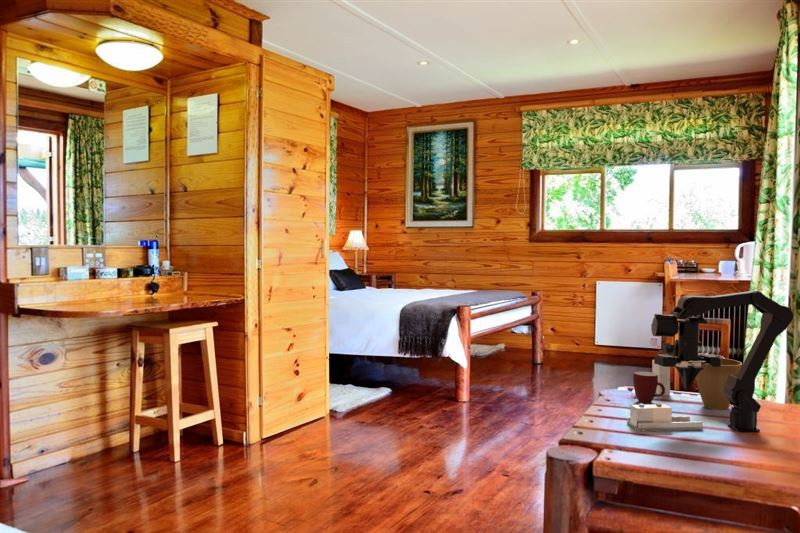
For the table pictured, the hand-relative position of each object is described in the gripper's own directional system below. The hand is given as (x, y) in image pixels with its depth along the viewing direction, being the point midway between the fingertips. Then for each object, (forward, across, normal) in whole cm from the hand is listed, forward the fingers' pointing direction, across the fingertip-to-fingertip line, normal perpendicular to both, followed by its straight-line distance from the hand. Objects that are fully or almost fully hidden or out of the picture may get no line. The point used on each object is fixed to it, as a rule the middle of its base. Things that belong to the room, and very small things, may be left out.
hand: (686, 388), depth 191 cm
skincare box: (+12, -16, -42) cm, 46 cm away
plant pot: (+12, -24, -21) cm, 34 cm away
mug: (+12, -4, -29) cm, 31 cm away
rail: (+11, +7, 0) cm, 13 cm away
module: (+11, +9, 0) cm, 14 cm away
